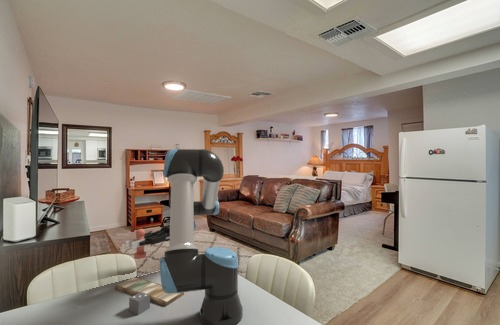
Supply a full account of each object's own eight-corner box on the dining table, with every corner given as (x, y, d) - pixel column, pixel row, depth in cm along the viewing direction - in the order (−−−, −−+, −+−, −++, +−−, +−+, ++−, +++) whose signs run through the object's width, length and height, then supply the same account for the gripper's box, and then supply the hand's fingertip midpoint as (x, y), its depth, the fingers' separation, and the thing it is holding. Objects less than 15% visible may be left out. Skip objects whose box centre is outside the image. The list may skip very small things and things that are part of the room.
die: (149, 308, 94) (149, 294, 95) (138, 315, 90) (138, 301, 90) (140, 304, 97) (140, 291, 97) (129, 311, 92) (129, 297, 92)
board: (184, 294, 104) (184, 291, 104) (165, 306, 95) (165, 302, 95) (135, 279, 118) (135, 276, 118) (115, 288, 109) (115, 285, 109)
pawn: (148, 255, 111) (148, 228, 111) (139, 259, 107) (139, 230, 107) (141, 254, 113) (141, 227, 113) (131, 257, 109) (131, 229, 109)
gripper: (182, 241, 122) (141, 257, 101) (159, 237, 130) (116, 251, 109) (183, 226, 122) (141, 239, 102) (159, 222, 130) (116, 233, 109)
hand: (129, 245), depth 105 cm, fingers closed on pawn, 3 cm apart
